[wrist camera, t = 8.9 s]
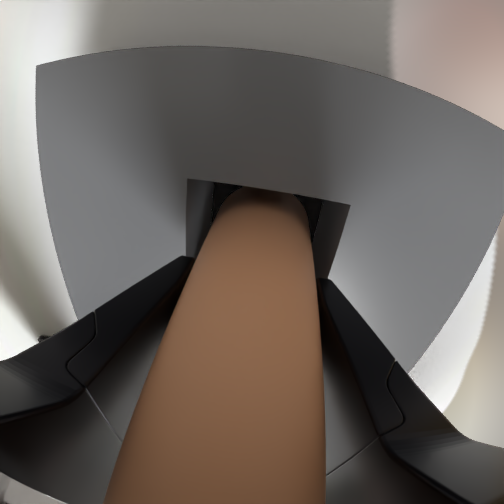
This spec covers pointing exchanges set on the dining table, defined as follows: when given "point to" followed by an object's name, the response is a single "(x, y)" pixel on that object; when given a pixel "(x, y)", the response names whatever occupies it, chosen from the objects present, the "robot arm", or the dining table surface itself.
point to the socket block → (268, 174)
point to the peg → (235, 372)
